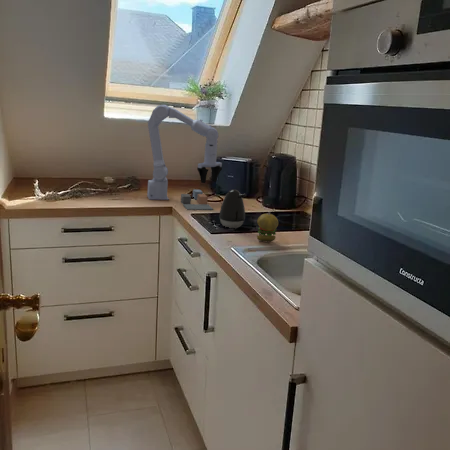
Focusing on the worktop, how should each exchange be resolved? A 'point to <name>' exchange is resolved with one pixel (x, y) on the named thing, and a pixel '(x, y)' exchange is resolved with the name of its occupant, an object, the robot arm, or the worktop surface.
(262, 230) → the hamburger
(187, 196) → the charcoal brick
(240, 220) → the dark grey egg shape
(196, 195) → the dusty-blue brick
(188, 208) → the slate mat
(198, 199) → the terracotta brick
